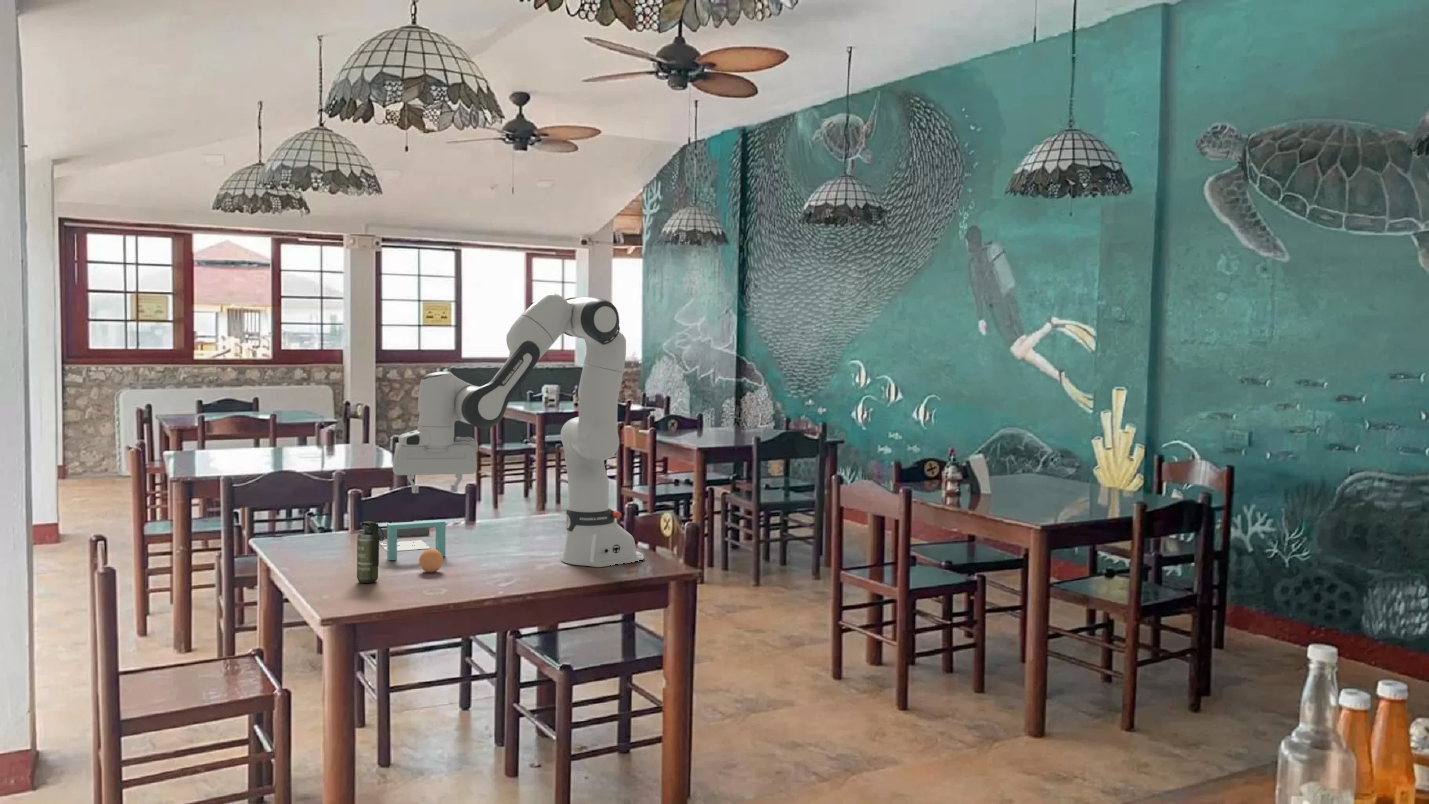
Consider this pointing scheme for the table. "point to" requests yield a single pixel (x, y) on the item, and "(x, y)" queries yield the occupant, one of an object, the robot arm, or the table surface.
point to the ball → (431, 560)
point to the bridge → (393, 527)
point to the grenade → (368, 552)
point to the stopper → (404, 531)
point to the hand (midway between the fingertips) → (434, 492)
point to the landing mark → (409, 545)
